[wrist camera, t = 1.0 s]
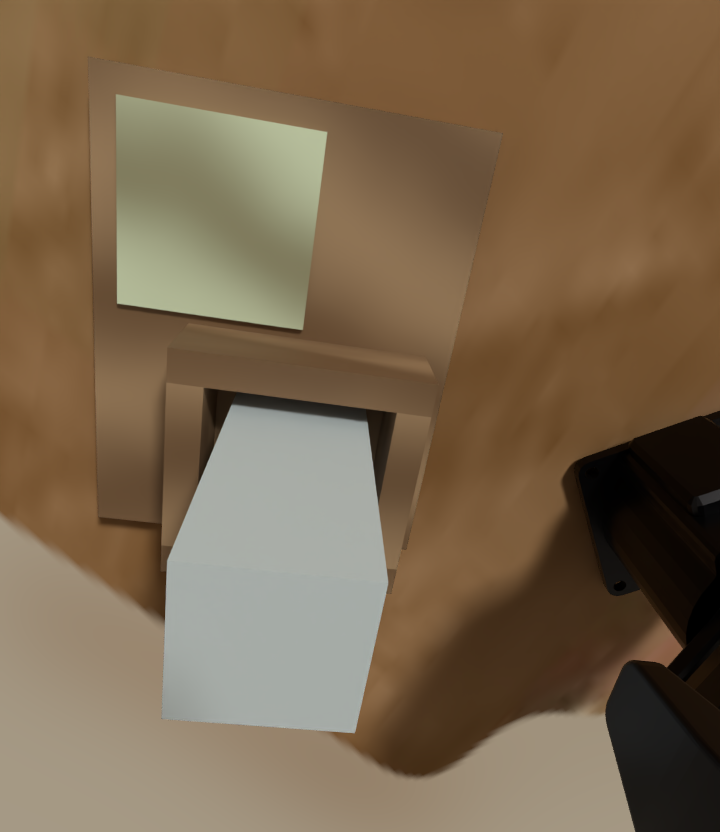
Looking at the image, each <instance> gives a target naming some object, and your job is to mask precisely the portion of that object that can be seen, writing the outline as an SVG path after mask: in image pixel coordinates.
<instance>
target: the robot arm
mask: <svg viewBox="0 0 720 832" xmlns="http://www.w3.org/2000/svg"><path fill="white" fill-rule="evenodd" d="M593 467H595V468H594V470H593V472H592V473H590V474H585V473H586V471H587V470H588V469H589V468H593ZM574 473H575V477H576V481H577V485H578V488H579V492H580V496H581V500H582V504H583V508H584V511H585V515H586V519H587V523H588V527H589V530H590V534H591V538H592V542H593V546H594V550H595V553H596V557H597V561H598V565H599V569H600V572H601V576H602V580H603V584H604V585H605V587H606V589H607V590H608V592H609V593H610V594H612V595H615V596H620V595H624V594H627V593H631V592H634V591H637V590H640V589H641V591H642V592H643V594H644V595H645V596H646V598H647V599H648V601H649V602H650V603H651V605H652V606H653V608H654V609H655V610H656V612H657V613H658V615H659V616H660V617H661V619H662V620H663V622H664V623H665V624H666V626H667V627H668V629H669V630H670V631H671V633H672V634H673V636H674V637H675V638H676V640H677V641H678V643H679V644H680V645H681V647H682V648H683V650H682V651H681V652H680V653H679V654H678V656H677V657H676V658H675V659H674V660H673V661H672V662H671V663H670V665H669V666H668V667H667V668H666V667H665V666H664V665H662V664H660V663H656V662H649V661H638V660H631V661H628V662H627V663H626V664H624V666H623V668H622V670H621V672H620V674H619V677H618V679H617V681H616V683H615V685H614V688H613V690H612V692H611V694H610V697H609V699H608V701H607V705H606V714H605V716H606V723H607V728H608V731H609V735H610V738H611V742H612V746H613V750H614V753H615V757H616V761H617V765H618V769H619V772H620V776H621V780H622V784H623V787H624V791H625V794H626V798H627V802H628V806H629V810H630V813H631V817H632V821H633V825H634V828H635V832H720V411H718V412H715V413H712V414H709V415H706V416H698V417H695V418H692V419H689V420H686V421H684V422H681V423H678V424H675V425H672V426H669V427H666V428H663V429H660V430H657V431H654V432H652V433H649V434H646V435H643V436H640V437H637V438H634V439H633V440H632V441H630V442H627V443H624V444H621V445H619V446H616V447H613V448H610V449H607V450H604V451H601V452H598V453H595V454H592V455H589V456H586V457H584V458H582V459H580V460H579V461H578V462H577V463H576V465H575V468H574ZM618 581H620V582H619V583H618V584H615V583H616V582H618Z"/></svg>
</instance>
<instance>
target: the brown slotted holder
mask: <svg viewBox="0 0 720 832" xmlns="http://www.w3.org/2000/svg"><path fill="white" fill-rule="evenodd" d="M88 77H89V123H90V169H91V214H92V260H93V306H94V352H95V397H96V443H97V489H98V517H104V518H113V519H123V520H132V521H142V522H151V523H160V524H162V541H161V571H163V572H167V560H168V557H169V555H170V553H171V550H172V548H173V545H174V543H175V540H176V538H177V536H178V533H179V531H180V528H181V526H182V523H183V521H184V519H185V516H186V514H187V511H188V509H189V507H190V504H191V502H192V499H193V497H194V494H195V492H196V490H197V487H198V485H199V482H200V480H201V478H202V475H203V473H204V470H205V468H206V465H207V463H208V461H209V458H210V456H211V453H212V451H213V449H214V446H215V444H216V441H217V439H218V436H219V434H220V432H221V429H222V427H223V424H224V422H225V419H226V417H227V415H228V412H229V410H230V407H231V405H232V403H233V400H234V398H235V395H236V393H237V392H242V393H249V394H257V395H265V396H272V397H280V398H287V399H295V400H303V401H310V402H318V403H325V404H333V405H341V406H348V407H356V408H364V409H366V415H367V422H368V430H369V438H370V446H371V453H372V461H373V469H374V476H375V484H376V492H377V499H378V507H379V515H380V522H381V530H382V538H383V545H384V553H385V561H386V568H387V576H388V587H387V592H386V594H391V592H392V588H393V584H394V579H395V575H396V570H397V566H398V562H399V557H400V553H401V549H403V550H406V549H407V544H408V540H409V536H410V531H411V527H412V523H413V519H414V514H415V510H416V506H417V501H418V497H419V493H420V488H421V484H422V480H423V476H424V471H425V467H426V463H427V458H428V454H429V450H430V445H431V441H432V437H433V432H434V428H435V424H436V420H437V415H438V411H439V407H440V402H441V398H442V394H443V389H444V385H445V381H446V377H447V372H448V368H449V364H450V359H451V355H452V351H453V346H454V342H455V338H456V333H457V329H458V325H459V321H460V316H461V312H462V308H463V303H464V299H465V295H466V290H467V286H468V282H469V278H470V273H471V269H472V265H473V260H474V256H475V252H476V247H477V243H478V239H479V234H480V230H481V226H482V222H483V217H484V213H485V209H486V204H487V200H488V196H489V191H490V187H491V183H492V179H493V174H494V170H495V166H496V161H497V157H498V153H499V148H500V144H501V140H502V135H503V133H499V132H494V131H488V130H483V129H477V128H472V127H467V126H461V125H456V124H450V123H445V122H439V121H434V120H429V119H423V118H418V117H412V116H407V115H402V114H396V113H391V112H385V111H380V110H375V109H369V108H364V107H358V106H353V105H348V104H342V103H337V102H331V101H326V100H320V99H315V98H310V97H304V96H299V95H293V94H288V93H283V92H277V91H272V90H266V89H261V88H256V87H250V86H245V85H239V84H234V83H229V82H223V81H218V80H212V79H207V78H201V77H196V76H191V75H185V74H180V73H174V72H169V71H164V70H158V69H153V68H147V67H142V66H137V65H131V64H126V63H120V62H115V61H110V60H104V59H99V58H93V57H88Z"/></svg>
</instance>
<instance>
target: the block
mask: <svg viewBox="0 0 720 832" xmlns="http://www.w3.org/2000/svg"><path fill="white" fill-rule="evenodd" d="M387 587H388V576H387V568H386V561H385V553H384V545H383V538H382V530H381V522H380V515H379V507H378V499H377V492H376V484H375V476H374V469H373V461H372V453H371V446H370V438H369V430H368V422H367V415H366V409H364V408H356V407H348V406H341V405H333V404H325V403H318V402H310V401H303V400H295V399H287V398H280V397H272V396H265V395H257V394H249V393H242V392H237V393H236V395H235V398H234V400H233V403H232V405H231V407H230V410H229V412H228V415H227V417H226V419H225V422H224V424H223V427H222V429H221V432H220V434H219V436H218V439H217V441H216V444H215V446H214V449H213V451H212V453H211V456H210V458H209V461H208V463H207V465H206V468H205V470H204V473H203V475H202V478H201V480H200V482H199V485H198V487H197V490H196V492H195V494H194V497H193V499H192V502H191V504H190V507H189V509H188V511H187V514H186V516H185V519H184V521H183V523H182V526H181V528H180V531H179V533H178V536H177V538H176V540H175V543H174V545H173V548H172V550H171V553H170V555H169V557H168V560H167V578H166V607H165V636H164V665H163V666H164V667H163V694H162V719H170V720H184V721H197V722H212V723H225V724H238V725H251V726H266V727H280V728H292V729H306V730H319V731H333V732H347V733H355V730H356V726H357V721H358V717H359V712H360V708H361V703H362V699H363V694H364V690H365V685H366V681H367V676H368V672H369V668H370V663H371V659H372V654H373V650H374V645H375V641H376V636H377V632H378V627H379V623H380V618H381V614H382V609H383V605H384V600H385V596H386V592H387Z"/></svg>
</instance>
